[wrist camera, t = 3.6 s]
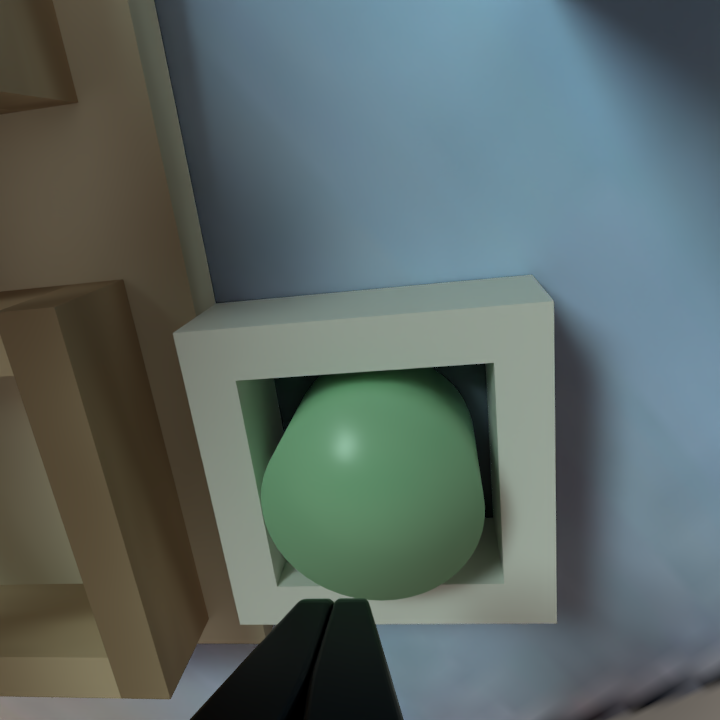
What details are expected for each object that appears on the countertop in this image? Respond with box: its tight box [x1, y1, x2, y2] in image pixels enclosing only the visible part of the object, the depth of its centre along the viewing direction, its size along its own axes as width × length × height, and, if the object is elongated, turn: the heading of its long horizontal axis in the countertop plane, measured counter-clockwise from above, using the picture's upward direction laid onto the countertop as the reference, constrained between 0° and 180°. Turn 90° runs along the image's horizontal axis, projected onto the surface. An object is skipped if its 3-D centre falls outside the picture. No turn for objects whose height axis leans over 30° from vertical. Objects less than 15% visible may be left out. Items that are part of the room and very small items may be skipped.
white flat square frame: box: [173, 275, 557, 625], centre depth 11 cm, size 6×6×2 cm
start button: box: [261, 367, 485, 601], centre depth 10 cm, size 4×4×2 cm
